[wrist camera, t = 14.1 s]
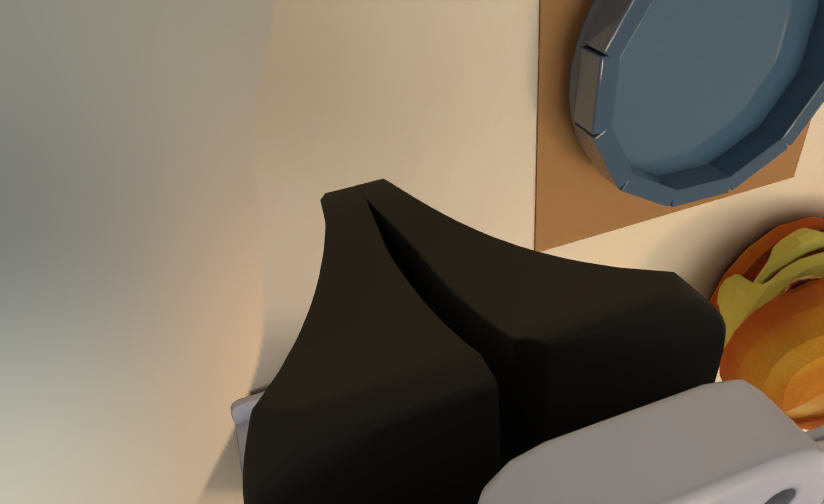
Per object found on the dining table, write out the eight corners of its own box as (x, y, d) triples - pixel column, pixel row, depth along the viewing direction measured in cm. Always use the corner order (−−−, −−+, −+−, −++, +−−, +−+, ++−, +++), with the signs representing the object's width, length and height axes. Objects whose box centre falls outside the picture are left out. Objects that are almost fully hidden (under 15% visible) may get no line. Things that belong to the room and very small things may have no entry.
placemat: (534, 252, 28) (535, 253, 28) (544, -183, 18) (545, -183, 18) (792, 176, 31) (793, 176, 31) (916, -235, 21) (918, -236, 21)
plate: (550, 201, 26) (581, 231, 24) (571, -93, 20) (616, -84, 18) (764, 148, 29) (808, 172, 27) (844, -130, 22) (910, -125, 20)
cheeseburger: (814, 332, 39) (934, 470, 31) (648, 340, 38) (727, 483, 30) (887, 192, 33) (1059, 316, 25) (693, 198, 32) (806, 328, 24)
